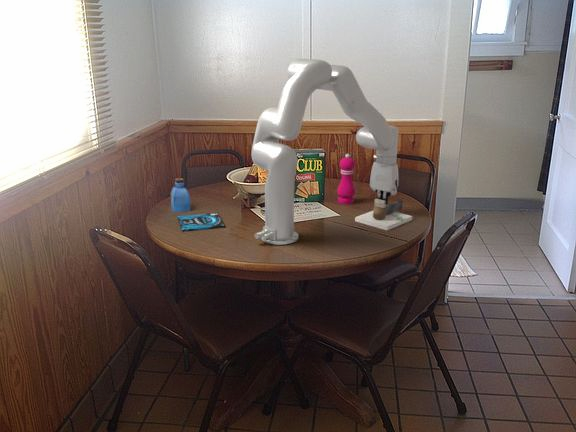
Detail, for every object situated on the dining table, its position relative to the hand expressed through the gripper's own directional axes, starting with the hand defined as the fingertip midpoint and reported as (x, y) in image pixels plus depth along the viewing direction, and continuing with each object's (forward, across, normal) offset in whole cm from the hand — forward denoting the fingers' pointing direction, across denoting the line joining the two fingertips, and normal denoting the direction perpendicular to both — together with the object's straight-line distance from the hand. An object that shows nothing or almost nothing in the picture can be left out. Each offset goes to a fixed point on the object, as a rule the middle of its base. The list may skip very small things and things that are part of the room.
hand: (382, 207), depth 203 cm
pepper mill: (+3, -19, +2) cm, 20 cm away
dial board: (+3, +5, -6) cm, 8 cm away
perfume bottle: (+3, -58, -51) cm, 78 cm away
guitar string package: (+4, -40, -55) cm, 68 cm away
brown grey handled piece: (+1, +5, -3) cm, 6 cm away
